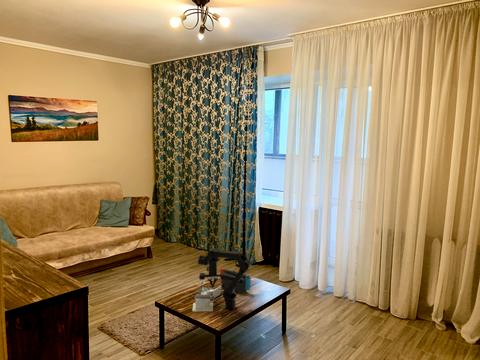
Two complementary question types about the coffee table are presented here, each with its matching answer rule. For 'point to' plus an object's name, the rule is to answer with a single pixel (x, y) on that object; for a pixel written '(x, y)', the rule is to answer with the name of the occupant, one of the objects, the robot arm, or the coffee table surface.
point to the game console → (242, 284)
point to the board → (202, 309)
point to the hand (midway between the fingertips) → (212, 287)
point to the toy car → (209, 291)
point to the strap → (202, 296)
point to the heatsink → (203, 303)
